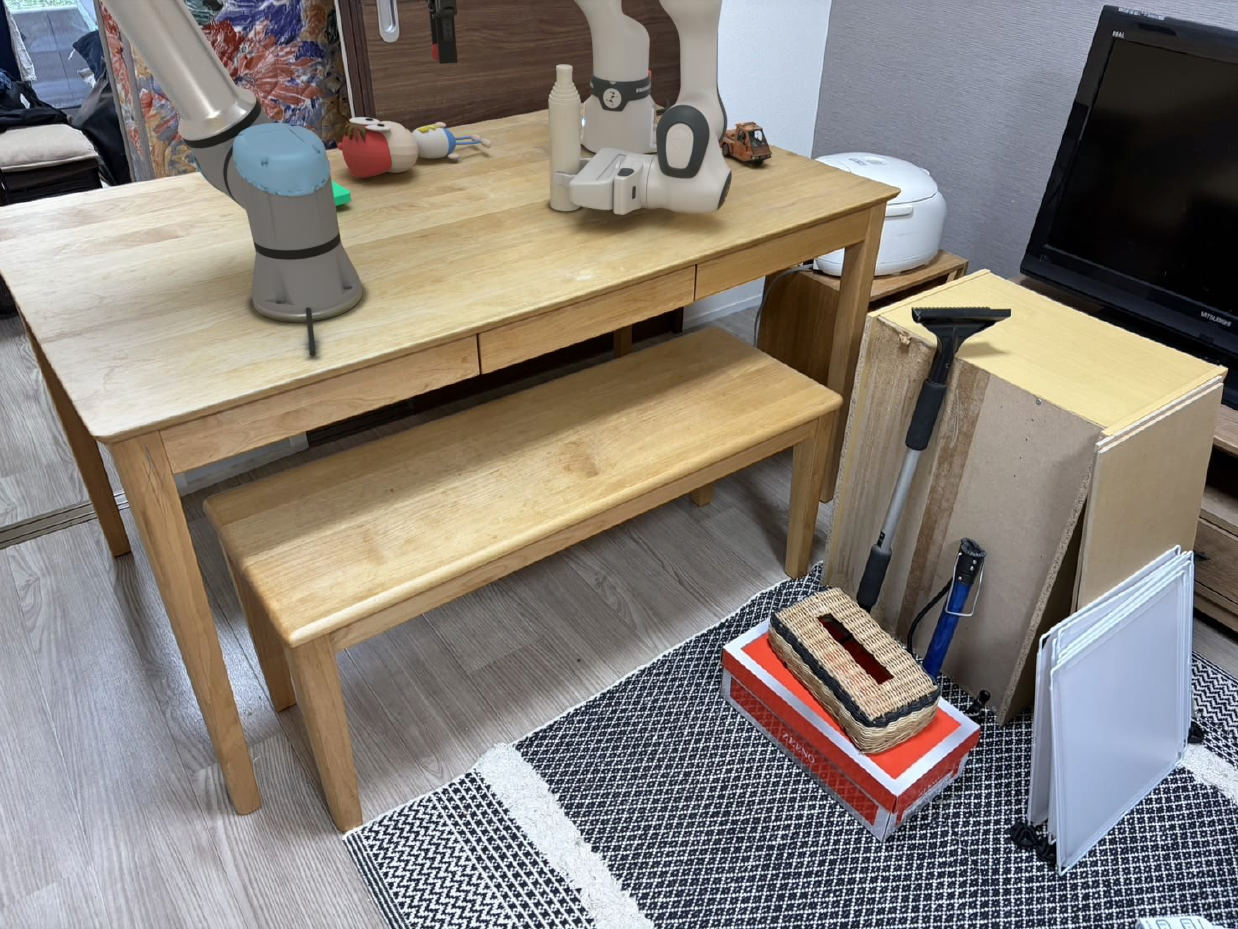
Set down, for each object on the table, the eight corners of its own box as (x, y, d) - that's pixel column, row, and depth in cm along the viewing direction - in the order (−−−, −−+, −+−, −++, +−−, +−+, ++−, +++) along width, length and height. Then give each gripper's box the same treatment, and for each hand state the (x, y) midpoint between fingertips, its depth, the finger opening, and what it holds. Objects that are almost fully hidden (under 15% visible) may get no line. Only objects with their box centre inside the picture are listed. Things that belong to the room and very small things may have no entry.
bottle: (575, 212, 163) (574, 71, 149) (546, 209, 164) (543, 68, 150) (584, 201, 168) (584, 63, 153) (555, 198, 169) (553, 60, 155)
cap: (457, 54, 147) (456, 42, 146) (458, 60, 144) (457, 48, 143) (432, 55, 146) (431, 42, 145) (432, 61, 143) (431, 48, 142)
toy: (506, 124, 177) (353, 127, 162) (506, 178, 182) (356, 186, 167) (466, 108, 191) (320, 110, 176) (466, 159, 195) (325, 165, 180)
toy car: (734, 147, 194) (738, 113, 189) (776, 163, 186) (781, 128, 182) (712, 153, 190) (715, 118, 186) (754, 169, 183) (758, 134, 179)
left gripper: (470, -111, 126) (481, 70, 140) (443, -123, 138) (456, 45, 152) (415, -110, 124) (432, 74, 138) (392, -123, 136) (411, 48, 150)
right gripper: (651, 143, 166) (578, 134, 169) (621, 181, 150) (540, 171, 153) (650, 178, 170) (578, 169, 172) (620, 219, 154) (541, 208, 157)
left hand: (445, 58), depth 145 cm, fingers closed on cap, 4 cm apart
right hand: (560, 170), depth 162 cm, fingers closed on bottle, 5 cm apart
